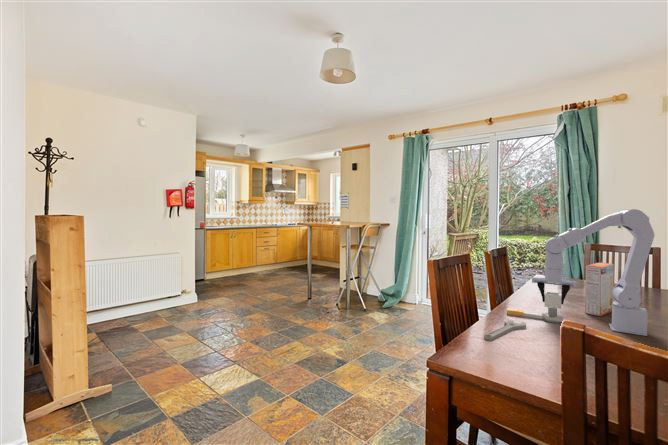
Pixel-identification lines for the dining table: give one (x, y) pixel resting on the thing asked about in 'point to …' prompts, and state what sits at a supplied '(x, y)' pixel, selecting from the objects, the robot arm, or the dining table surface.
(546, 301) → the socket
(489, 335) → the adjustable wrench
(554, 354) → the dining table surface
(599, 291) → the cracker box
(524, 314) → the ratchet
